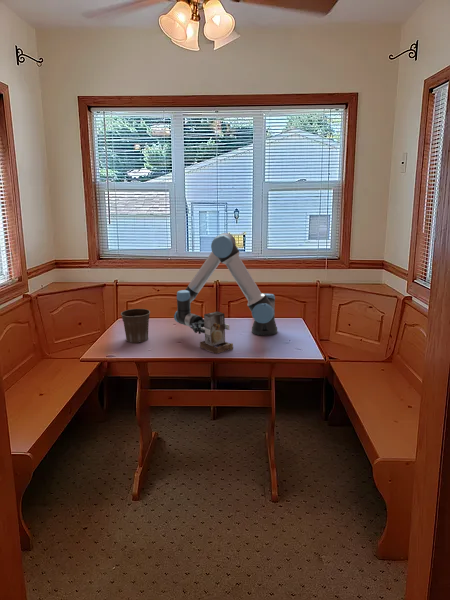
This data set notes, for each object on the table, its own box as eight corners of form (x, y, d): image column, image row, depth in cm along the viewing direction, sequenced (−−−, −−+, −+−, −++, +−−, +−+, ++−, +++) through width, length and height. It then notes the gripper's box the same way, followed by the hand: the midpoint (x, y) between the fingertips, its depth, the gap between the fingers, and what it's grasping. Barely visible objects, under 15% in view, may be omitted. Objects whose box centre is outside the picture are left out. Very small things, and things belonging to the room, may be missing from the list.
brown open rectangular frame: (215, 342, 244) (215, 337, 243) (233, 349, 233) (233, 343, 232) (199, 346, 237) (198, 341, 236) (217, 354, 226) (217, 348, 225)
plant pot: (145, 345, 240) (143, 316, 236) (117, 343, 243) (115, 315, 240) (155, 336, 256) (154, 309, 252) (129, 334, 259) (128, 308, 255)
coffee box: (218, 339, 239) (218, 311, 235) (225, 342, 234) (225, 313, 230) (204, 343, 234) (203, 313, 230) (211, 346, 229) (210, 316, 225)
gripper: (211, 323, 254) (236, 331, 238) (176, 332, 238) (201, 342, 222) (211, 310, 252) (236, 318, 236) (176, 319, 236) (200, 327, 221)
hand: (219, 329), depth 229 cm, fingers open, 12 cm apart
